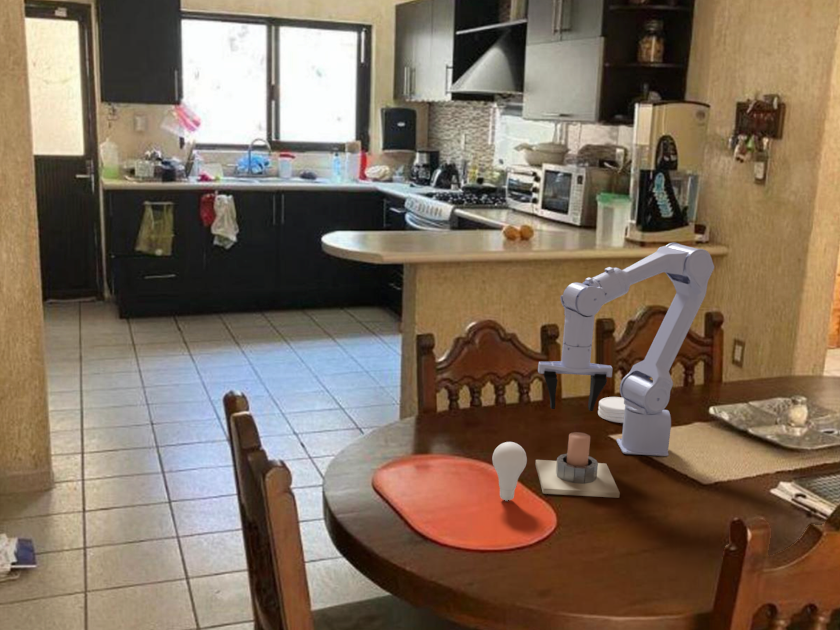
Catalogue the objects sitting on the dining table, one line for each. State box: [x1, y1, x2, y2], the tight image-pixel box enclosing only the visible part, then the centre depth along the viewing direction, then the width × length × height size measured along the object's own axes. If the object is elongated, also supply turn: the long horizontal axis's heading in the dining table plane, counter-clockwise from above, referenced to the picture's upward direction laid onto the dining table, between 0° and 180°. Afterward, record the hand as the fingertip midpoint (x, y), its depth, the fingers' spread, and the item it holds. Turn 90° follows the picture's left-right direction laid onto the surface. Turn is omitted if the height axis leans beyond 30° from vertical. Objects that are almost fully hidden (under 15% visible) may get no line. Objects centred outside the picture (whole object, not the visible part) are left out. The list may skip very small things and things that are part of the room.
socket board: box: [534, 453, 621, 499], centre depth 171 cm, size 14×14×4 cm
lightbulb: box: [491, 441, 528, 502], centre depth 159 cm, size 6×6×11 cm
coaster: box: [597, 396, 625, 424], centre depth 209 cm, size 10×10×4 cm
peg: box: [566, 431, 591, 467], centre depth 170 cm, size 4×4×8 cm
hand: (571, 408), depth 180 cm, fingers open, 7 cm apart
